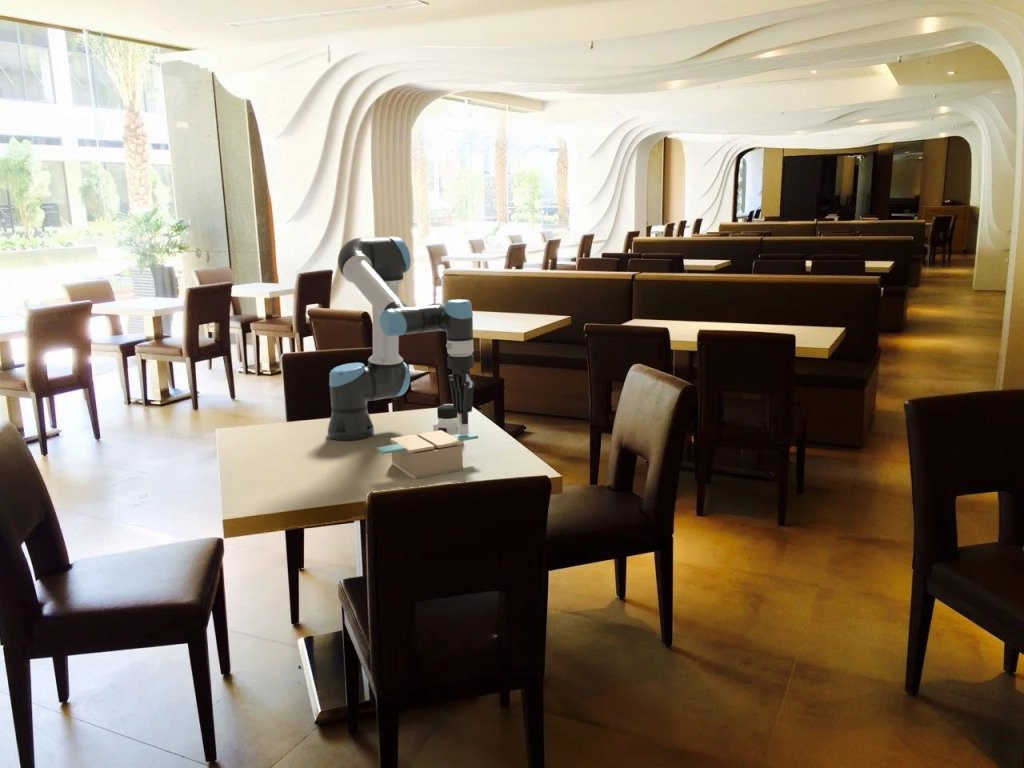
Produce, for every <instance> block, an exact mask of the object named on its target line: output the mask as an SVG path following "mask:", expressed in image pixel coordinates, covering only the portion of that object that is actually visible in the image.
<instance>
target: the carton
mask: <svg viewBox="0 0 1024 768" xmlns="http://www.w3.org/2000/svg"><path fill="white" fill-rule="evenodd" d="M390 445H394V443H393V442H391V441H390ZM434 447H435V446H434ZM463 459H464V458H463V446H462V445H453V446H448V447H442V448H437V447H435V449H430V450H424V451H419V452H413V453H408V452H407V451H401V452H395V453H391V464H392V465H393V466H395V467H396V468H398V469H399V470H401V472H403V473H404V474H406V475H407V476H409V477H410V478H412V479H413V480H417V479H422V478H428V477H433V476H438V475H442V474H449V473H453V472H458V471H463V470H464V461H463Z"/></svg>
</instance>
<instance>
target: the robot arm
mask: <svg viewBox="0 0 1024 768" xmlns="http://www.w3.org/2000/svg"><path fill="white" fill-rule="evenodd" d="M411 259H412V258H411V253H410V250H409V248H408V246H407V244H406V242H405V241H404V240H403V239H402V238H401V237H398V236H374V237H357V238H353V239H350V240H349V241H347V242H346V243H345V244H344V245H343V246H342V247H341V249H340V250H339V253H338V257H337V266H338V270H339V271H340V273H341V275H342V277H343V278H344V279H345V280H346V281H347V282H349V283H352V284H354V285H355V287H356V288H357V289H358V290H359V291H360V293H361V294H362V295H363V296H364V297H365V299H366V300H367V301H368V302H369V303H370V304H371V306H372V307H371V308H372V313H371V315H372V355H370V356H369V357H368V359H367V361H368V363H367V366H365V364H364V363H362V362H350V363H345V364H341V365H338V366H335V367H334V368H333V369H330V372H329V380H328V381H329V383H328V385H329V392H330V393H329V394H330V405H331V406H330V407H331V416H330V420H329V424H328V426H327V427H328V428H327V437H328V439H331V440H336V441H355V440H361V439H362V440H363V439H366V438H369V437H372V436H373V435H374V434H375V426H374V424H373V421H372V419H371V416H370V414H369V412H368V402H370V401H379V400H383V399H393V398H395V397H400V396H403V395H404V394H406V392H407V391H408V389H409V387H410V383H411V373H410V370H409V365H408V364H407V363H406V362H404V358H403V357H402V356H401V355H400V354H399V346H400V345H399V343H400V341H399V339H400V338H399V337H400V336H404V335H412V334H419V333H420V334H421V333H428V332H429V333H430V332H431V333H432V332H440V331H441V332H445V333H446V344H445V347H446V352H447V354H448V355H447V368H448V369H450V370H451V374H449V375H448V377H447V378H448V381H449V385H450V386H449V387H450V393H451V394H450V395H451V400H452V404H453V408H454V409H455V408H456V412H458V413H457V418H458V435H466V434H469V432H470V431H469V413H470V412H472V411H473V403H474V390H475V386H476V382H475V380H471V373H470V372H471V371H470V369H474V366H475V361H474V360H475V359H474V358H475V357H474V354H473V353H474V351H475V350H474V329H473V328H474V322H473V319H474V318H473V317H474V316H473V315H474V313H473V308H472V302H471V301H470V300H469V299H450V300H446V302H445V304H442V303H430V304H428V305H425V306H423V305H422V306H413V307H412V306H411V307H409V306H407V304H406V303H404V302H403V300H402V299H401V298H400V297H399V295H400V294H399V293H400V291H399V288H400V287H399V286H400V285H399V284H400V283H401V282H402V281H403V280H404V273H407V272H408V271H410V267H411V264H412V262H411Z"/></svg>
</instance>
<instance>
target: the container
mask: <svg viewBox="0 0 1024 768" xmlns="http://www.w3.org/2000/svg"><path fill="white" fill-rule="evenodd" d="M436 409H437V410H436V411H437V413H436V414H437V421H436V422H435V423H434V424H433V425H432V427H433V431H439V430H442V431H444V432H446V433H447V434H449V435H455V434H458V418H457V413H458V412H456V408H455V409H454V408H453V403H445V404H440V405H438V407H437V408H436ZM433 431H432V432H433ZM464 443H465V441H462V444H459V445H461V446H462V445H463V444H464Z"/></svg>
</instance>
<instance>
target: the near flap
mask: <svg viewBox="0 0 1024 768" xmlns="http://www.w3.org/2000/svg"><path fill="white" fill-rule="evenodd" d="M389 441H390V443H391V442H393V443H394V445H391V444H389V445H384V446H377V447H376V451H377V452H379V453H380V454H382V455H383V456H384V455H388V454H392V453H395V452H401V451H407V452H408V453H413V452H419V451H424V450H430V449H435V447H434V445H432V444H430V443H428V442H427V441H425V440H423V439H421V438H420V437H418V435H416V434H410V435H408V434H407V435H404V436H396V437H391V438H389Z"/></svg>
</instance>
